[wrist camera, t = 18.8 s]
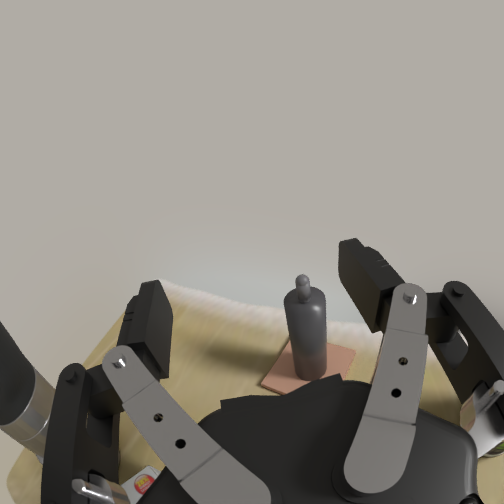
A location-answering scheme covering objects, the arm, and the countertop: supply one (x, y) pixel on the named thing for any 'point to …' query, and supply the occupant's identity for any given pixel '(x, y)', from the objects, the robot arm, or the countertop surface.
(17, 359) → the robot arm
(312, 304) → the plug
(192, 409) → the countertop surface
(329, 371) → the pink square coaster
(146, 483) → the light bulb box
